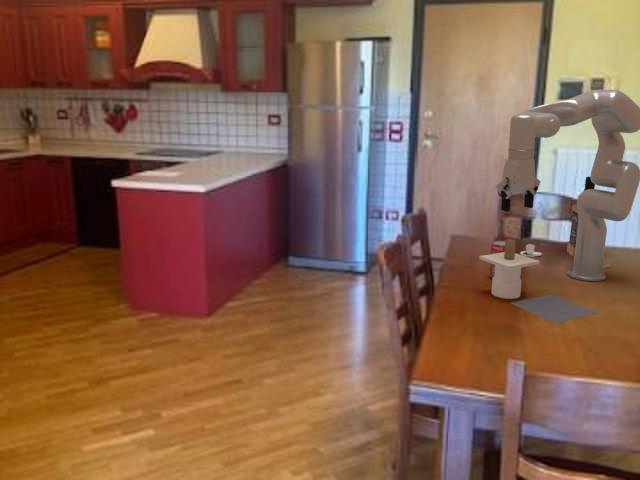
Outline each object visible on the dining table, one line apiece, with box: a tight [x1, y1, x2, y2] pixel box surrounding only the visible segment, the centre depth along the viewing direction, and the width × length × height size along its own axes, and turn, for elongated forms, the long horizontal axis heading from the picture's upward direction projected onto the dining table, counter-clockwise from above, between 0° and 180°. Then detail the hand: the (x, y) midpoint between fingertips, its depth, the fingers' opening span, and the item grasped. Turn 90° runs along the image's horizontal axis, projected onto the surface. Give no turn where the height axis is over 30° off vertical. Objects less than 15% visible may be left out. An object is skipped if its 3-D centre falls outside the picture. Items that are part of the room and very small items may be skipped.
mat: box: [509, 294, 599, 324], centre depth 181 cm, size 18×18×1 cm
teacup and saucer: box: [519, 243, 542, 258], centre depth 243 cm, size 9×8×4 cm
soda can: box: [489, 240, 505, 279], centre depth 211 cm, size 7×7×13 cm
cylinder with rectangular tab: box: [491, 265, 522, 300], centre depth 192 cm, size 9×9×12 cm
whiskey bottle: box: [566, 176, 596, 258], centre depth 239 cm, size 10×10×32 cm
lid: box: [479, 238, 540, 270], centre depth 190 cm, size 13×13×7 cm
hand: (517, 209), depth 189 cm, fingers open, 9 cm apart
